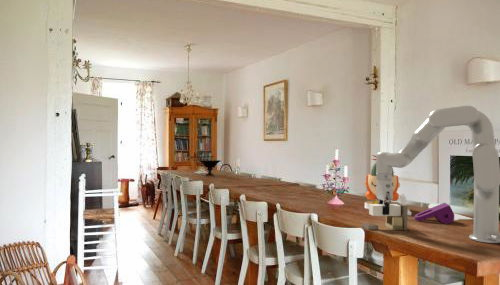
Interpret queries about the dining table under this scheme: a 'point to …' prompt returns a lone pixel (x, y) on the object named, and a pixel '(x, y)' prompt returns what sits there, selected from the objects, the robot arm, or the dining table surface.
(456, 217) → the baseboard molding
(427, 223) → the dining table surface
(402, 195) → the seated beast figurine
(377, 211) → the cream rail
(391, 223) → the cup bracket
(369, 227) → the rest block
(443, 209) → the mounting bracket
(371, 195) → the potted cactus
